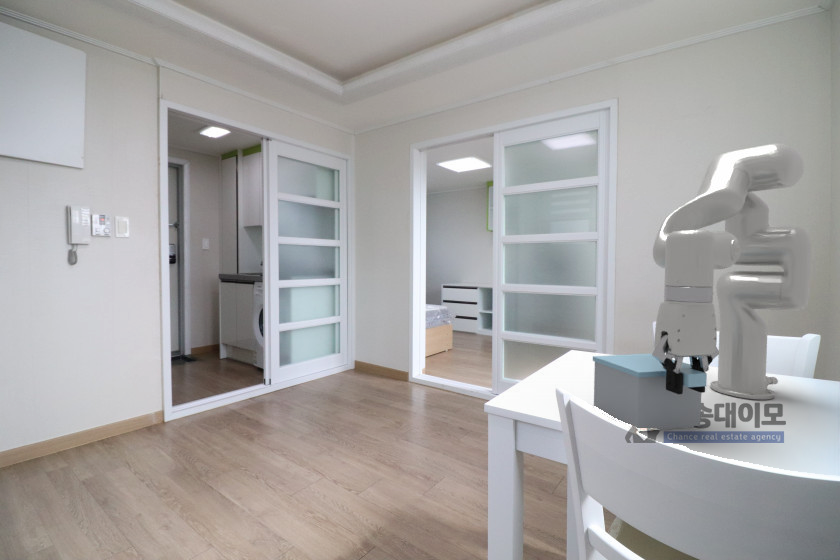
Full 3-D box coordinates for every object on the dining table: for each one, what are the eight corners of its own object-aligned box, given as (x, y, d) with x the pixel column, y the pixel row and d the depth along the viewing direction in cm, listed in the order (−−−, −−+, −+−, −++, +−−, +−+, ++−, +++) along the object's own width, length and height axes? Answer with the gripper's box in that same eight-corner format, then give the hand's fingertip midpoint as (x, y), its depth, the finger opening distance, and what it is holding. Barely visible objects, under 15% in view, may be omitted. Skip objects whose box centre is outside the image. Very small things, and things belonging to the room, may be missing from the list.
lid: (650, 361, 90) (650, 350, 90) (731, 386, 72) (731, 371, 72) (592, 364, 87) (592, 352, 87) (661, 391, 68) (662, 376, 68)
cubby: (649, 403, 90) (650, 357, 90) (700, 426, 77) (701, 372, 77) (593, 408, 87) (594, 360, 87) (637, 432, 74) (638, 377, 74)
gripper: (705, 294, 77) (702, 382, 78) (634, 295, 74) (632, 388, 74) (743, 297, 70) (740, 394, 71) (667, 298, 66) (664, 401, 67)
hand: (685, 390), depth 72 cm, fingers open, 4 cm apart
